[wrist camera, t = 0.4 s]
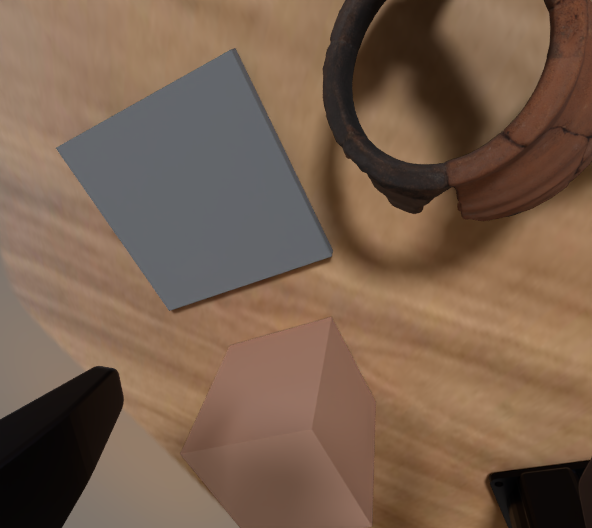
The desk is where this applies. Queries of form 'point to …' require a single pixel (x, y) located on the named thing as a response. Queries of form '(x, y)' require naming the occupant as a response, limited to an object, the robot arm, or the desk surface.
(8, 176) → the desk surface
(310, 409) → the dusty pink block
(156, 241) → the slate mat
